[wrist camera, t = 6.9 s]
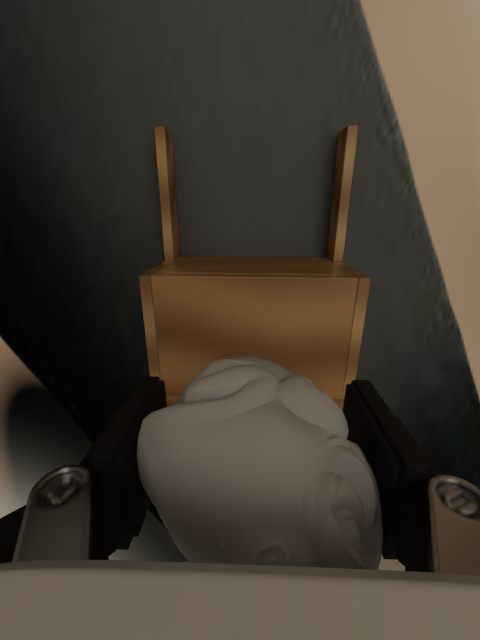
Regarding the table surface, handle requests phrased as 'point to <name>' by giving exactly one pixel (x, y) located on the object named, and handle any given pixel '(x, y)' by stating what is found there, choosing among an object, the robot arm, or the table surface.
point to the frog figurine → (260, 472)
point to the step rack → (255, 298)
